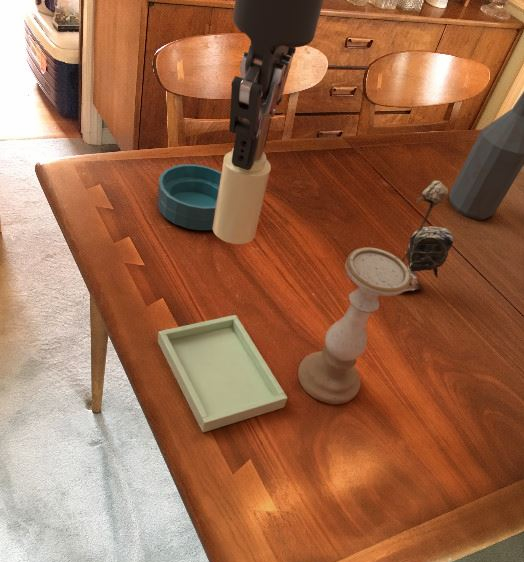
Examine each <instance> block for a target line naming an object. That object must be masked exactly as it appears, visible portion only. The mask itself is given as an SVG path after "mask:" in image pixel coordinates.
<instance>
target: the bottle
mask: <svg viewBox="0 0 524 562" xmlns="http://www.w3.org/2000/svg"><path fill="white" fill-rule="evenodd" d="M523 167H524V91H522V93H521V95H520V96H519V98H518V99H517V101H516V102H515V103H514V105H513V107H512V108H511V109H510V110H508V111H507V112H505V113H503V114H502V115H500V116H499V117H498V118H496V119H495V120H494V121H492V122H490V123H489V124H487V125H486V126H484V127H483V128H482V129H481V130H480V132H479V134H478V135H477V137H476V139H475V142H474V144H473V146H472V147H471V149H470V151H469V153H468V156H467V157H466V160H465V161H464V163H463V165H462V167H461V169H460V171H459V174H458V175H457V177H456V179H455V181H454V183H453V184H452V186H451V189H450V190H449V192H448V193H449V195H448V196H449V204H450V206H451V207H452V208H453V209H454V210H455V211H457V213H459V214H461V215H462V216H463V217H468V218H470V219H474V220H477V221H485V220H486V219H488V218H490V217H491V216H493V215H495V214H496V212H497V211H498V209H499V207H500V205H501V204H502V202H503V201H504V199H505V197H506V196H507V193H508V192H509V190H510V189H511V187H512V185H513V183H514V182H515V180H516V179H517V177H518V175H519V174H520V172H521V170H522V168H523Z"/></svg>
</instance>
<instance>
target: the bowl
mask: <svg viewBox="0 0 524 562" xmlns="http://www.w3.org/2000/svg"><path fill="white" fill-rule="evenodd" d="M220 177H221V170H218V169H216V168H212V167H210V166H206V165H200V164H196V163H194V164H193V163H191V164H190V163H183V164H178V165H173V166H171V167H167V169H165V170H164V171H163V172H162V173H161V174H160V175H159V179H158V187H157V199H156V205H157V208H158V211H159V212H160V214H161V215H162V216H163V217H164V218H165V219H166V220H167V221H170V222H171V223H172V224H174V225H177V226H179V227H182V228H184V229H188V230H195V231H213V228H212V227H213V220H214V214H215V208H216V202H217V196H218V190H219V183H220Z"/></svg>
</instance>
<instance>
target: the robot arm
mask: <svg viewBox="0 0 524 562" xmlns="http://www.w3.org/2000/svg"><path fill="white" fill-rule="evenodd" d="M323 4H324V0H234V7H233V14H232V21H233V24H234V26H235V27H236V28H237V29H238V30H239V31H240V32H241V33H244V34H245V35H246V36H247V37H248V39H249V40H250V45H249V48H248V52H247V51H244V52H243V54H242V57H241V61H240V65H239V72H240V76H238V75H235V76H233V79H232V81H231V92H230V93H231V94H230V109H229V129H228V130H229V132H230V133H232V134H235V139H234V144H233V148H234V149H233V148H232V149H233V155H232V164H233V165H234V166H236V167H239V168H242V169H245V170H250V169H251V168H252V166H253V164H254V159H255V155H256V150H257V145H258V140H259V135H261V132H262V130H261V129H262V125H263V121H264V117H265V115H266V114H268V113H270V115H271V118H270V123H269V127H268V132H267V136H266V141H265V146H264V149H266V146H267V141H268V138H269V137H268V136H269V132H270V127H271V123H272V118H274V116H275V115H276V113H277V106H279V105H280V103H282V101H283V94H284V91H285V86H286V83H287V80H288V76H289V74H290V73H289V72H290V69H291V67H292V62H293V58H294V55H295V53H296V51H297V48H302V47H305V46H308V45H309V44H311V43H312V41H313V40H314V39H315V36H316V32H317V28H318V24H319V20H320V15H321V12H322V7H323ZM244 119H247V120H249V121H250V122H249V121H246V120H244Z"/></svg>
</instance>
